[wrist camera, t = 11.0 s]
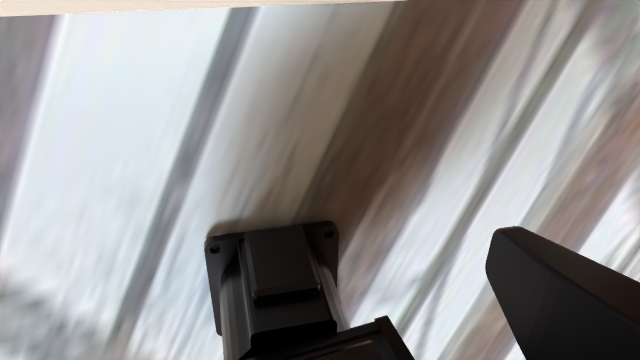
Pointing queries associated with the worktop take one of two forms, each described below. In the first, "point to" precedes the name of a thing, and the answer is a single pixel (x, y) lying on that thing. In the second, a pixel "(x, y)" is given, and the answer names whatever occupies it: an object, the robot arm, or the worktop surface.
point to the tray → (139, 5)
